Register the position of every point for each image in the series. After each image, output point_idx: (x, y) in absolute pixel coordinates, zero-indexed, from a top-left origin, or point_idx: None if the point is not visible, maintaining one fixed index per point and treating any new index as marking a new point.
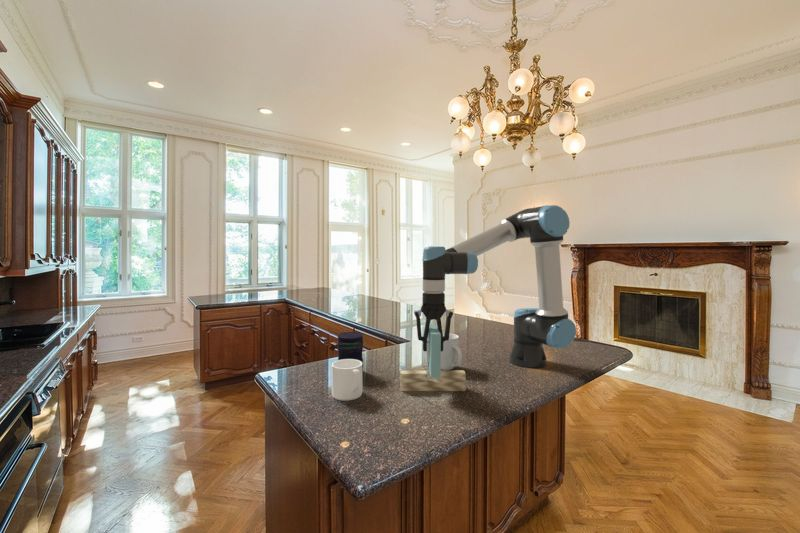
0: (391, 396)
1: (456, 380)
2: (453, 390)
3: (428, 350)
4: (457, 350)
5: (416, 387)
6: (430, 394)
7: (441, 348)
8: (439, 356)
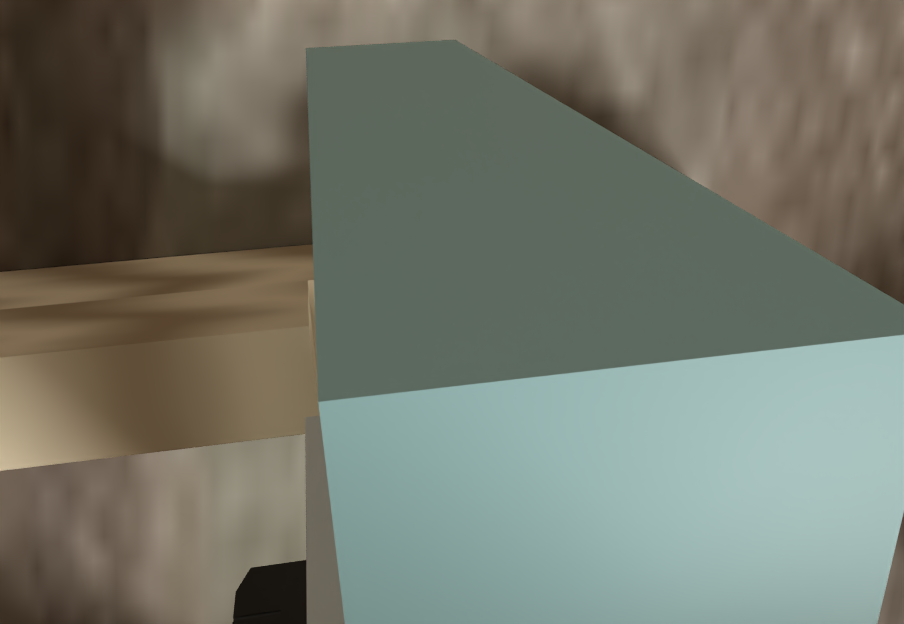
0: (813, 71)
1: (81, 309)
2: (143, 261)
3: None
4: None
5: None
6: None
7: (273, 607)
8: (337, 104)
